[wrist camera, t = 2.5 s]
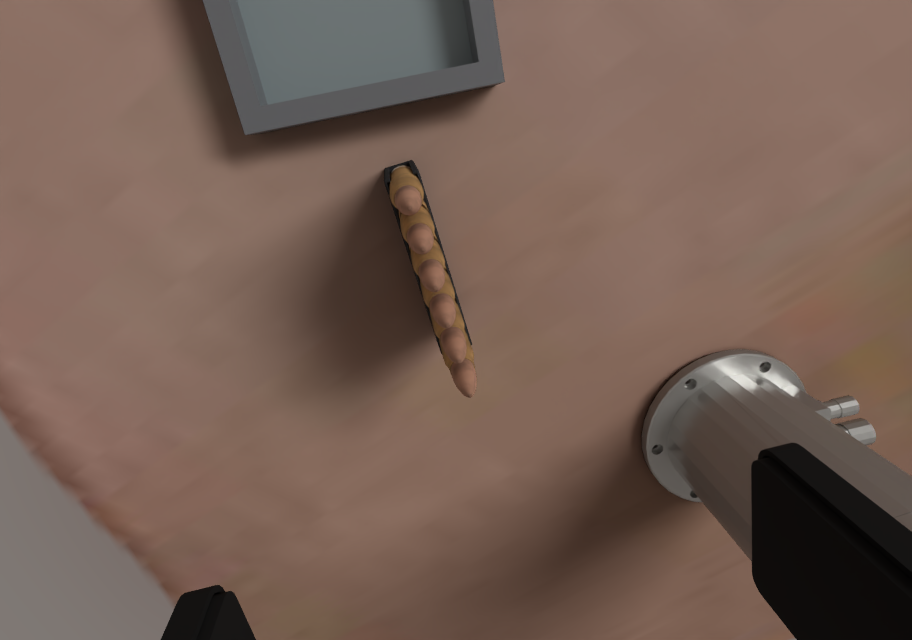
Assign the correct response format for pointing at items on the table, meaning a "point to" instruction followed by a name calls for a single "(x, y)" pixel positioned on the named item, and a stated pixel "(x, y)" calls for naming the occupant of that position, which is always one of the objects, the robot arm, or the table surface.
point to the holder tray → (349, 55)
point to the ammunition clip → (432, 272)
